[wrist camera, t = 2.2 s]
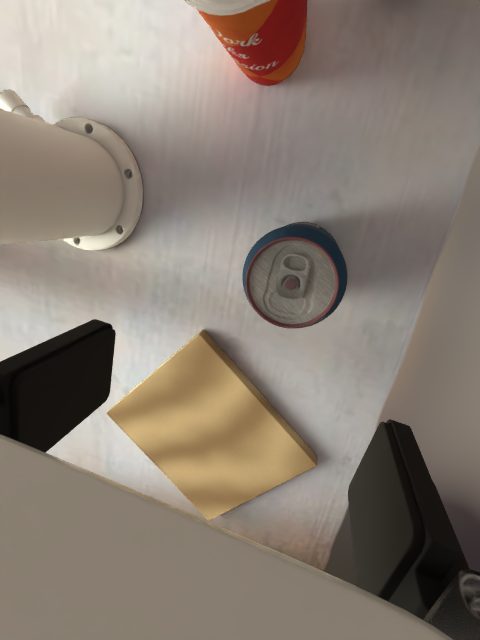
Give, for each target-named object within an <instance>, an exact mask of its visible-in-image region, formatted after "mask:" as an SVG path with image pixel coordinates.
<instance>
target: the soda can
mask: <svg viewBox="0 0 480 640" xmlns="http://www.w3.org/2000/svg"><path fill="white" fill-rule="evenodd" d="M346 285H347V268H346V263H345V260H344V257H343V255H342V253H341V251H340V249H339V247H338V245H337V243H336V241H335V240H334V238H333V237H332V236H331V234H330V233H329V232H328V231H326V230H325V229H324V228H322V227H320V226H318V225H316V224H313V223H308V222H298V223H293V224H289V225H287V226H284V227H281V228H278V229H276V230H273V231H271V232H269V233H268V234H266V235H265V236H263V237H262V238H261V239H260V240H259V241H257V243H256V244H255V245H254V246H253V247H252V249H251V250H250V252H249V254H248V256H247V258H246V261H245V264H244V268H243V286H244V291H245V294H246V297H247V299H248V301H249V303H250V304H251V306H252V307H253V308H254V310H255V311H256V312H257V313H258V314H259V315H260V316H261V317H262V318H263V319H265V320H266V321H268V322H270V323H271V324H274V325H276V326H279V327H284V328H303V327H308V326H311V325H314V324H316V323H318V322H320V321H322V320H324V319H325V318H327V317H328V316H329V315H330V314H331V313H332V312H333V311H334V310H335V309H336V308H337V307H338V305H339V304H340V302H341V300H342V298H343V296H344V293H345V290H346Z"/></svg>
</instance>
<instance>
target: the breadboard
mask: <svg viewBox="0 0 480 640" xmlns="http://www.w3.org/2000/svg"><path fill="white" fill-rule="evenodd" d="M106 413H107V414H108V416H109V417H110V418H111V419H112V420H113V421H114V422H115V423H116V424H117V425H118V426H119V427H120V428H121V429H122V430H123V431H124V432H125V433H126V434H127V435H128V436H129V438H130V439H131V440H132V441H133V442H134V443H135V444H136V445H137V446H138V447H139V448H140V449H141V450H142V451H143V452H144V453H145V454H146V455H147V456H148V457H149V458H150V460H151V461H152V462H153V463H154V464H155V465H156V466H157V467H158V468H159V469H160V470H161V471H162V472H163V473H164V474H165V475H166V476H167V477H168V478H169V479H170V480H171V482H172V483H173V484H174V485H175V486H176V487H177V488H178V489H179V490H180V491H181V492H182V493H183V494H184V495H185V496H186V497H187V498H188V499H189V500H190V501H191V502H192V504H193V505H194V506H195V507H196V508H197V509H198V510H199V511H200V512H201V513H202V514H203V515H204V516H205V517H206V518H207V519H208V520H211V519H213V518H215V517H217V516H219V515H221V514H223V513H225V512H227V511H229V510H231V509H233V508H235V507H237V506H239V505H241V504H243V503H245V502H247V501H249V500H251V499H253V498H255V497H257V496H259V495H260V494H262V493H264V492H266V491H268V490H270V489H272V488H274V487H276V486H278V485H280V484H282V483H284V482H286V481H288V480H290V479H292V478H294V477H296V476H298V475H300V474H302V473H304V472H306V471H308V470H310V469H312V468H314V467H316V466H317V456H316V455H315V454H314V453H313V451H312V450H311V449H310V448H309V447H308V446H307V445H306V444H305V442H304V441H303V440H302V439H301V438H300V437H299V436H298V435H297V433H296V432H295V431H294V430H293V429H292V428H291V427H290V426H289V424H288V423H287V422H286V421H285V420H284V419H283V418H282V417H281V416H280V414H279V413H278V412H277V411H276V410H275V409H274V408H273V407H272V405H271V404H270V403H269V402H268V401H267V400H266V399H265V398H264V396H263V395H262V394H261V393H260V392H259V391H258V390H257V389H256V387H255V386H254V385H253V384H252V383H251V382H250V381H249V380H248V378H247V377H246V376H245V375H244V374H243V373H242V372H241V371H240V369H239V368H238V367H237V366H236V365H235V364H234V363H233V362H232V361H231V359H230V358H229V357H228V356H227V355H226V354H225V353H224V352H223V350H222V349H221V348H220V347H219V346H218V345H217V344H216V343H215V341H214V340H213V339H212V338H211V337H210V336H209V335H208V334H207V332H206V331H205V330H202V331H201V332H200V333H199V334H197V335H196V336H195V337H194V338H193V339H192V340H190V341H189V342H188V343H187V344H186V345H184V346H183V347H182V348H181V349H180V350H179V351H177V352H176V353H175V354H174V355H173V356H172V357H170V358H169V359H168V360H167V361H166V362H165V363H163V364H162V365H161V366H160V367H159V368H157V369H156V370H155V371H154V372H153V373H152V374H150V375H149V376H148V377H147V378H146V379H145V380H143V381H142V382H141V383H140V384H139V385H138V386H136V387H135V388H134V389H133V390H132V391H130V392H129V393H128V394H127V395H126V396H125V397H123V398H122V399H121V400H120V401H119V402H118V403H116V404H115V405H114V406H113V407H112V408H111V409H110V410H109V411H107V412H106Z"/></svg>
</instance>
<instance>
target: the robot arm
mask: <svg viewBox="0 0 480 640" xmlns="http://www.w3.org/2000/svg"><path fill="white" fill-rule="evenodd" d="M0 107H1V108H2V109H0V245H6V244H16V243H26V242H36V241H47V240H57V239H62V240H64V241H65V242H67V243H68V244H70V245H72V246H75V247H77V248H79V249H84V250H88V251H99V250H105V249H109V248H112V247H114V246H117V245H118V244H120V243H121V242H123V241H124V240H125V239H126V238H127V237H128V236H129V235H130V234H131V233H132V231H133V230H134V228H135V226H136V225H137V222H138V220H139V217H140V214H141V209H142V204H143V186H142V179H141V175H140V171H139V168H138V165H137V162H136V160H135V158H134V156H133V154H132V152H131V151H130V149H129V148H128V147H127V145H126V144H125V142H124V141H123V140H122V139H121V138H120V137H119V136H118V135H117V134H116V133H115V132H114V131H112V130H111V129H109V128H108V127H106V126H105V125H102V124H100V123H98V122H95V121H93V120H89V119H86V118H75V117H71V118H67V119H63V120H60V121H58V122H57V123H55V124H50V123H47V122H45V121H44V119H43V118H42V117H40V116H39V115H34V114H33V113H32V112H31V111H30V109H29V107H28V106H27V105H26V104H25V103H24V102H23V101H22V99H21V98H20V97H19V96H18V95H17V94H16V93H15V91H12V90H10V89H9V90H4V91H2V92H0ZM131 174H132V176H131ZM114 344H115V330H113V328H112V325H111V324H108V323H105V322H102V321H99V320H96V319H94V320H91V321H89V322H87V323H85V324H83V325H80V326H78V327H76V328H74V329H72V330H69V331H67V332H65V333H63V334H61V335H58V336H56V337H54V338H52V339H49V340H47V341H45V342H43V343H41V344H38V345H36V346H34V347H32V348H30V349H27V350H25V351H23V352H21V353H18V354H16V355H14V356H12V357H10V358H7V359H5V360H3V361H1V362H0V640H480V572H476V571H473V570H470V569H469V567H468V564H467V562H466V559H465V557H464V554H463V552H462V550H461V547H460V545H459V542H458V540H457V537H456V535H455V533H454V530H453V528H452V525H451V523H450V520H449V519H448V516H447V513H446V511H445V508H444V506H443V503H442V501H441V499H440V496H439V494H438V491H437V489H436V486H435V485H434V483H433V481H432V479H431V476H430V474H429V471H428V469H427V467H426V464H425V462H424V459H423V457H422V455H421V452H420V449H419V447H418V445H417V442H416V440H415V437H414V435H413V432H412V430H411V428H410V426H408V425H405V424H402V423H399V422H396V421H393V420H388V421H387V422H386V423H385V422H381V423H380V424H379V426H378V428H377V430H376V432H375V434H374V436H373V438H372V440H371V442H370V444H369V446H368V448H367V450H366V452H365V454H364V456H363V458H362V460H361V462H360V464H359V466H358V469H357V471H356V473H355V475H354V477H353V479H352V481H351V483H350V486H349V490H348V501H349V512H350V524H351V534H352V535H351V536H352V548H353V559H354V570H355V582H356V586H354V585H352V584H350V583H348V582H345V581H343V580H341V579H339V578H336V577H334V576H332V575H330V574H327V573H325V572H323V571H321V570H318V569H316V568H314V567H312V566H310V565H307V564H305V563H303V562H301V561H298V560H296V559H294V558H291V557H289V556H287V555H284V554H282V553H280V552H278V551H275V550H273V549H271V548H268V547H266V546H264V545H261V544H259V543H257V542H254V541H252V540H250V539H247V538H245V537H243V536H241V535H238V534H236V533H234V532H231V531H229V530H227V529H224V528H222V527H220V526H217V525H215V524H213V523H210V522H208V521H206V520H203V519H201V518H199V517H196V516H194V515H192V514H189V513H187V512H185V511H182V510H180V509H178V508H175V507H173V506H171V505H168V504H166V503H164V502H161V501H159V500H156V499H154V498H152V497H149V496H147V495H145V494H142V493H140V492H138V491H135V490H133V489H131V488H128V487H126V486H123V485H121V484H119V483H116V482H114V481H112V480H109V479H107V478H105V477H102V476H100V475H97V474H95V473H93V472H90V471H88V470H85V469H83V468H81V467H78V466H76V465H73V464H71V463H69V462H66V461H64V460H61V459H59V458H57V457H54V456H52V455H49V454H47V453H46V452H47V451H48V450H49V449H50V448H51V447H53V446H54V445H55V444H56V443H57V442H58V441H60V440H61V439H62V438H63V437H64V436H65V435H67V434H68V433H69V432H70V431H71V430H73V429H74V428H75V427H76V426H77V425H78V424H80V423H81V422H82V421H83V420H84V419H85V418H87V417H88V416H89V415H90V414H91V413H92V412H94V411H95V410H96V409H97V408H98V407H100V406H101V405H102V404H103V403H104V402H105V401H106V400H107V398H108V396H109V393H110V385H111V375H112V365H113V355H114Z"/></svg>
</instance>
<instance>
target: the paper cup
mask: <svg viewBox="0 0 480 640" xmlns="http://www.w3.org/2000/svg"><path fill="white" fill-rule="evenodd" d="M185 1H186V2H187V3H188V4H189V5H191V6H193V7H194V8H196V9H197V10H198V11H199V13H200V14H201V16H202V17H203V18H204V20H205V21H206V22H207V24H208V25H209V27H210V28H211V29H212V31H213V32H214V33H215V35H216V36H217V38H218V39H219V40H220V42H221V43H222V44H223V46H224V47H225V49H226V50H227V51H228V53H229V54H230V55H231V57H232V58H233V59H234V61H235V62H236V63H237V65H238V66H239V67H240V69H241V70H242V71H243V72H244V73H245V75H246V76H247V77H248V78H249V79H251V80H252V81H254V82H255V83H258V84H260V85H274V84H277V83H280V82H282V81H283V80H285V79H286V78H288V77H289V76H290V75H291V74H292V73H293V71H294V70H295V69H296V67H297V66H298V64H299V62H300V60H301V57H302V54H303V51H304V46H305V37H306V21H307V0H185Z"/></svg>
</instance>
